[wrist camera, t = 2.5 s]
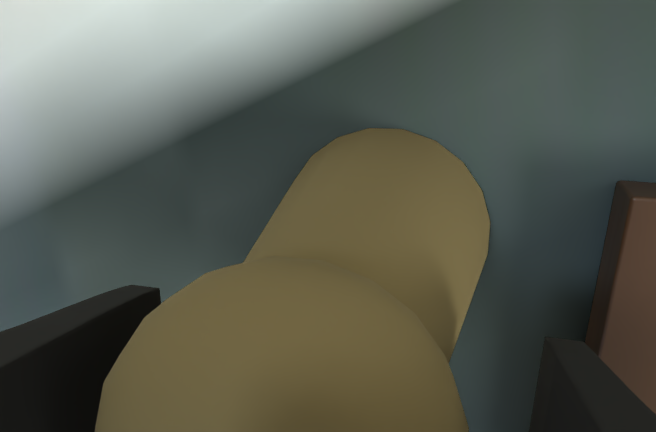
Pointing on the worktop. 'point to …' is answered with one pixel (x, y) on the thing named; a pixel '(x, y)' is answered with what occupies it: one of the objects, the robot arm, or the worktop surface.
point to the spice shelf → (628, 291)
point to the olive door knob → (322, 307)
